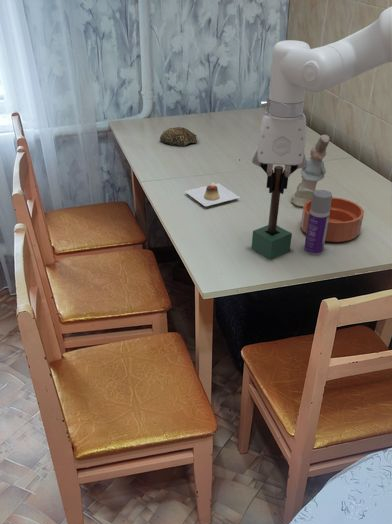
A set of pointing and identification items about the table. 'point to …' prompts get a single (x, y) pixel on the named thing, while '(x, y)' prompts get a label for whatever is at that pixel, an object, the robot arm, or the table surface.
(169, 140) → the brown rock
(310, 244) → the container
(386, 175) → the table surface
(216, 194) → the dessert
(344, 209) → the bowl
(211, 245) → the table surface
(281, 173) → the stick
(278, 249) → the holder
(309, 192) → the figurine
